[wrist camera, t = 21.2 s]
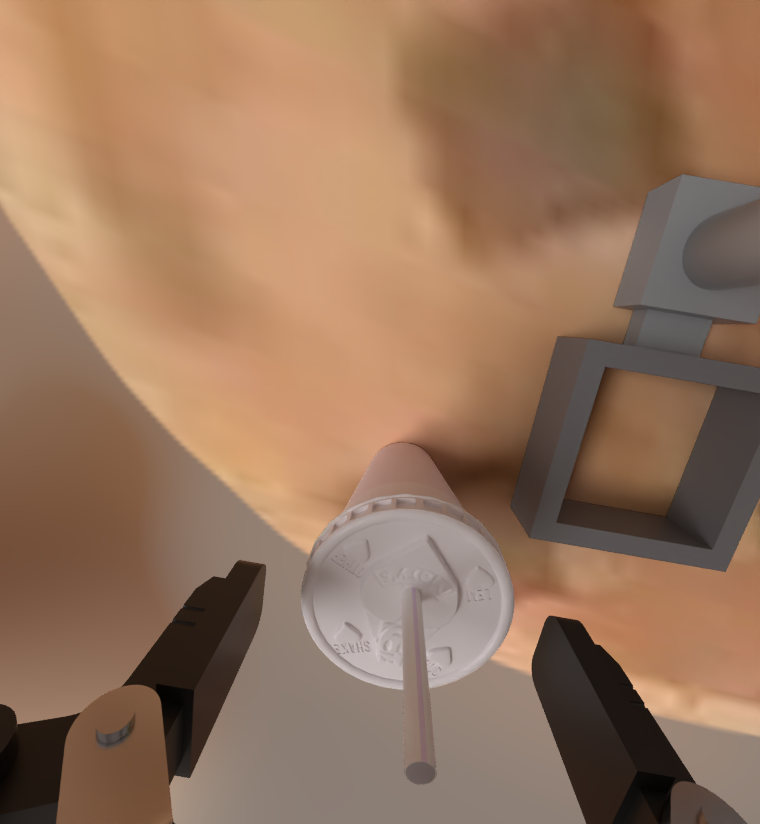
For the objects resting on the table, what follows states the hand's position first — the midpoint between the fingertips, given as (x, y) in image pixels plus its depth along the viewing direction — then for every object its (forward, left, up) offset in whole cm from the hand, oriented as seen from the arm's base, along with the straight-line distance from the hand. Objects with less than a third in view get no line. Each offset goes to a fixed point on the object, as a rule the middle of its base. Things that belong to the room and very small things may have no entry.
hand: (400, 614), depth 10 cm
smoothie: (0, 0, -10) cm, 10 cm away
